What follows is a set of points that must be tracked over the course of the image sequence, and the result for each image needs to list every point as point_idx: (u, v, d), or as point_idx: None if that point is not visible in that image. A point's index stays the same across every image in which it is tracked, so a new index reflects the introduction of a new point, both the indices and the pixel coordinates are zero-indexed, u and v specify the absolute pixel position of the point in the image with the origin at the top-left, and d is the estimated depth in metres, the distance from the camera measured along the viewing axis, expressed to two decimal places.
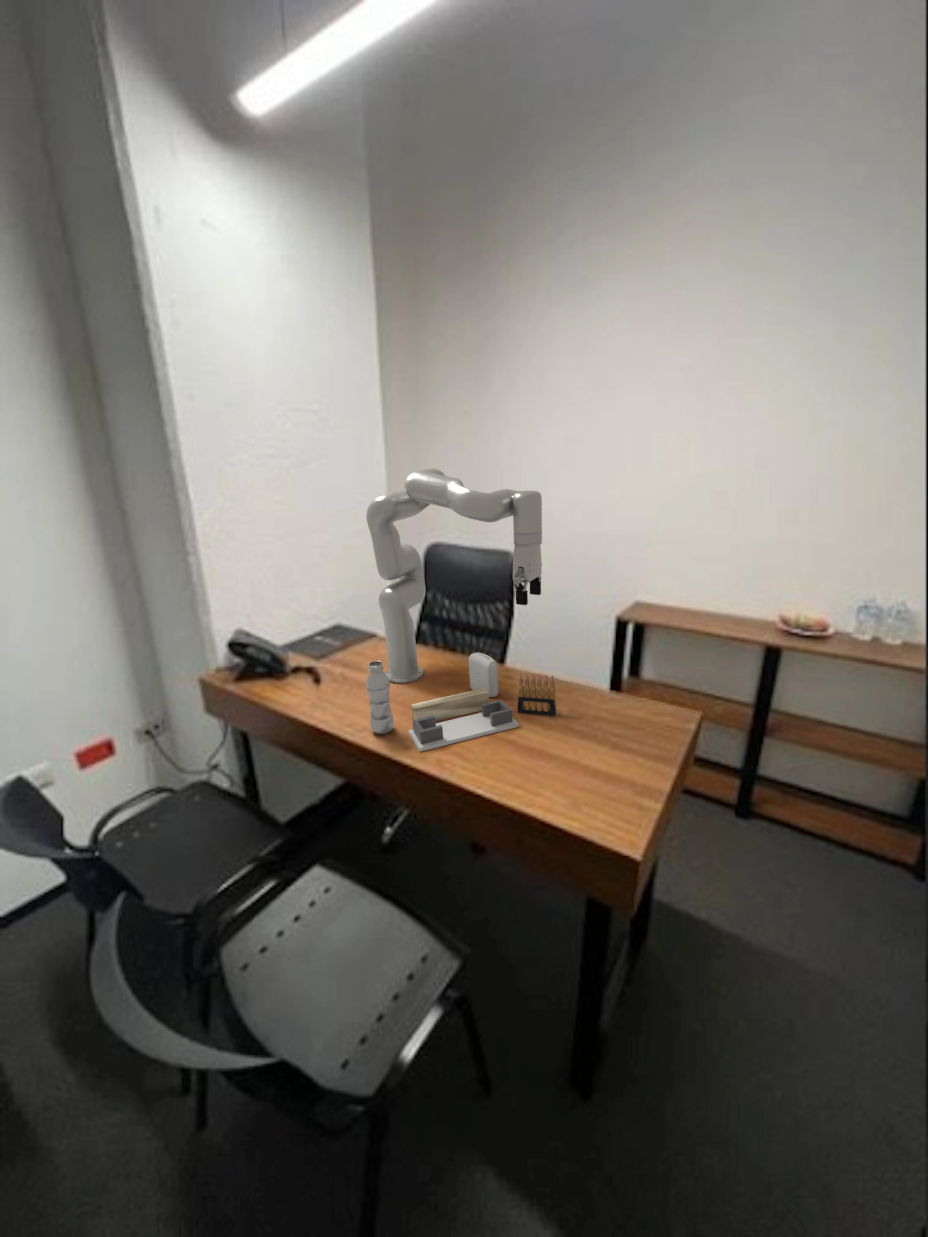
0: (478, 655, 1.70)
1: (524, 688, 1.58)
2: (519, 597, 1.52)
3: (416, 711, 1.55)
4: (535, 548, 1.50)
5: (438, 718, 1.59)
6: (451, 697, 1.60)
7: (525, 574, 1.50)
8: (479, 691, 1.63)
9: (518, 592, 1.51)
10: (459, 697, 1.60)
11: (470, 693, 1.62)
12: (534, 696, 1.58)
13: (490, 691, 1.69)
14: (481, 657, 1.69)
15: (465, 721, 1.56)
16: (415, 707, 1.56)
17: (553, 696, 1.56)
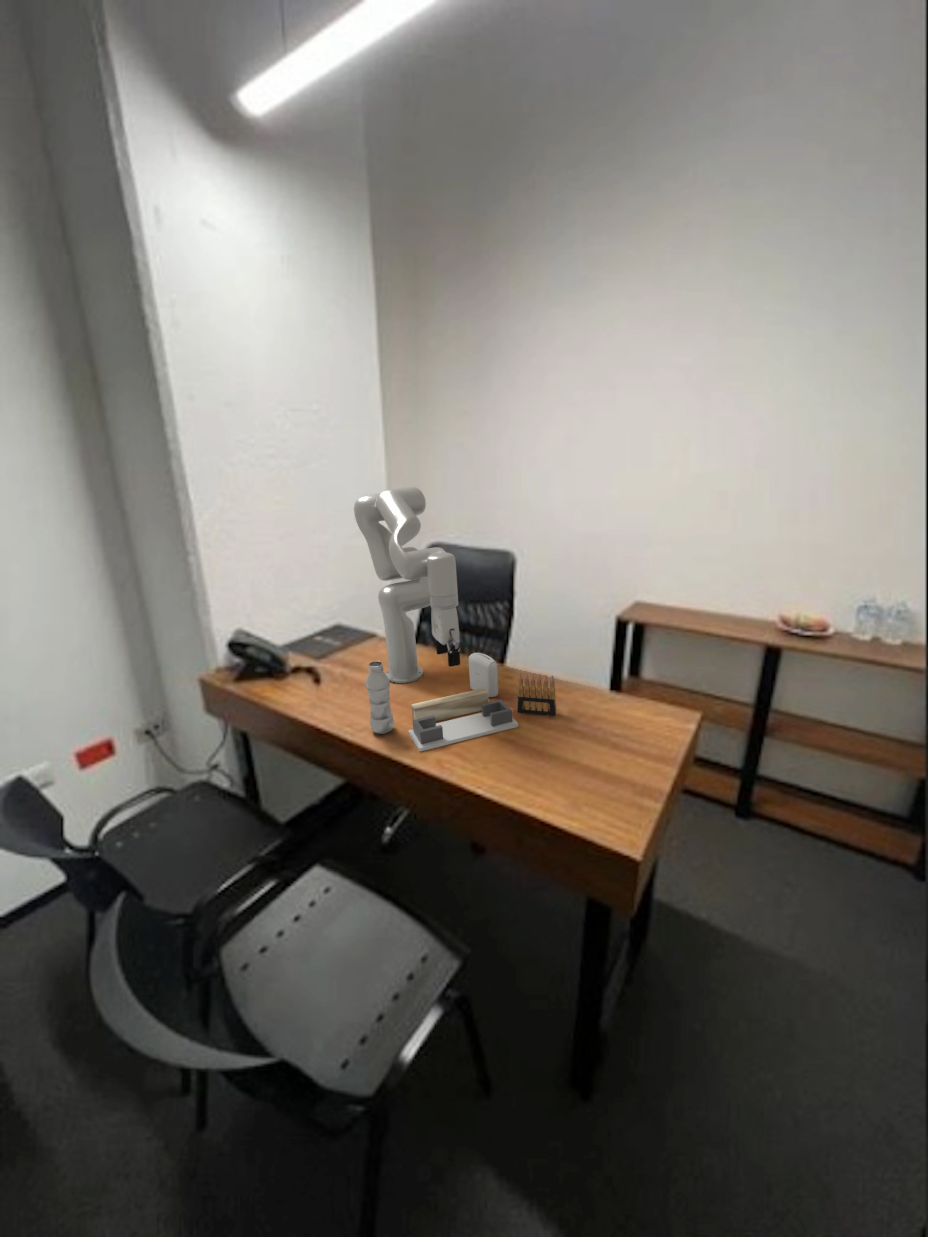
0: (478, 655, 1.70)
1: (524, 688, 1.58)
2: (454, 659, 1.50)
3: (416, 711, 1.55)
4: None
5: (438, 718, 1.59)
6: (451, 697, 1.60)
7: (457, 635, 1.49)
8: (479, 691, 1.63)
9: (453, 654, 1.49)
10: (459, 697, 1.60)
11: (470, 693, 1.62)
12: (534, 696, 1.58)
13: (490, 691, 1.69)
14: (481, 657, 1.69)
15: (465, 721, 1.56)
16: (415, 707, 1.56)
17: (553, 696, 1.56)
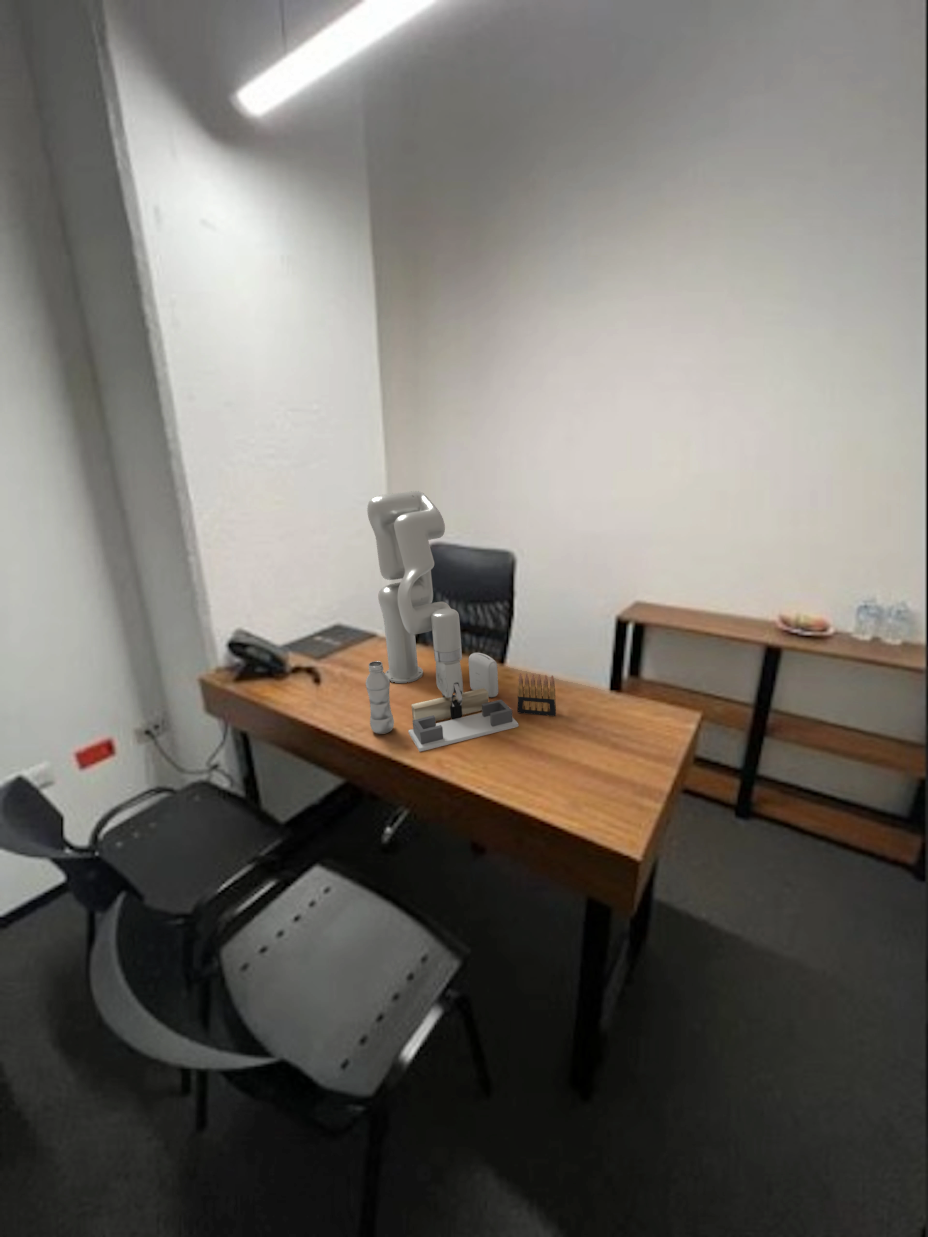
0: (478, 655, 1.70)
1: (524, 688, 1.58)
2: (456, 712, 1.56)
3: (416, 711, 1.55)
4: None
5: (438, 718, 1.59)
6: None
7: (460, 688, 1.53)
8: (479, 691, 1.63)
9: (455, 708, 1.55)
10: None
11: (470, 693, 1.62)
12: (534, 696, 1.58)
13: (490, 691, 1.69)
14: (481, 657, 1.69)
15: (465, 721, 1.56)
16: (415, 707, 1.56)
17: (553, 696, 1.56)
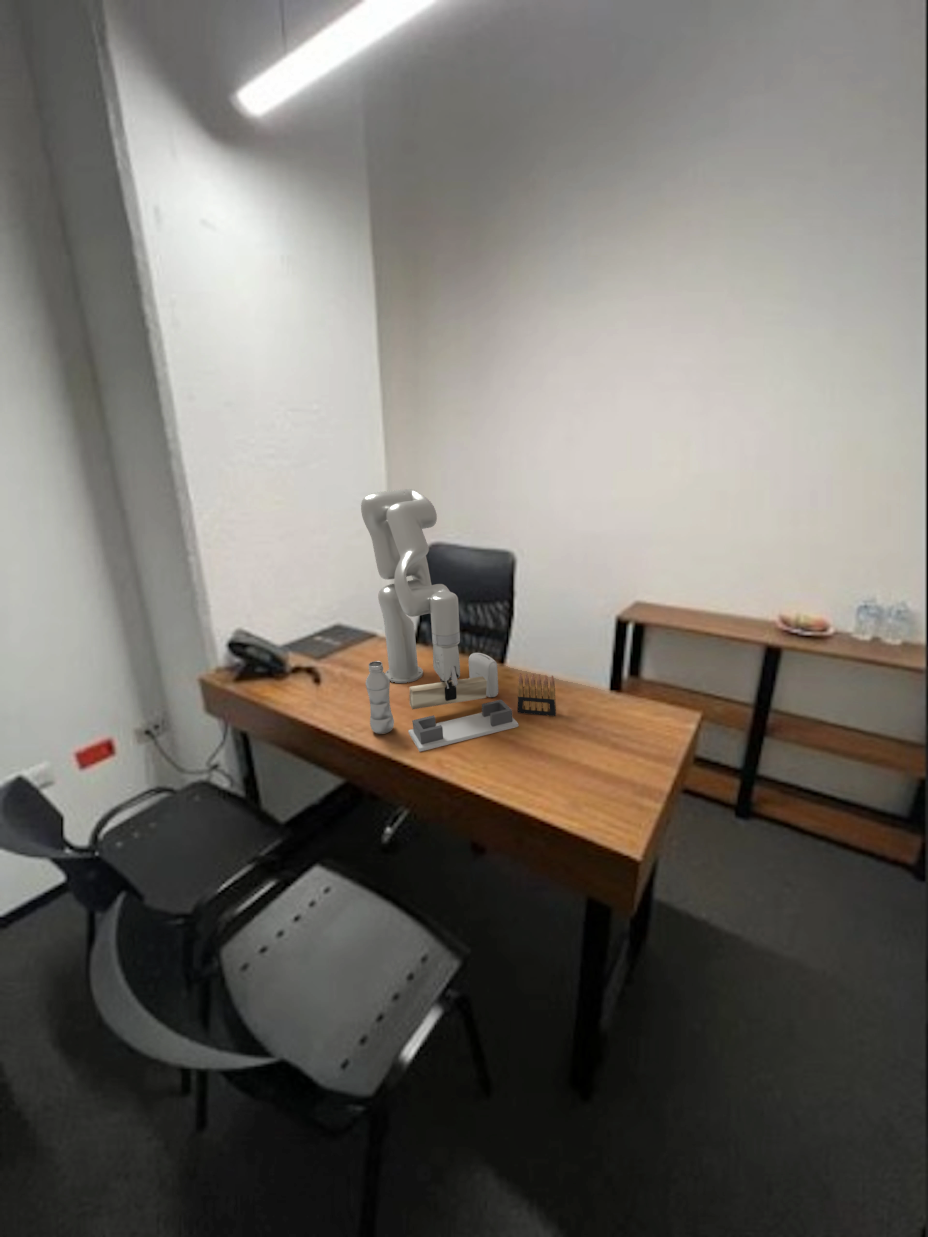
0: (478, 655, 1.70)
1: (524, 688, 1.58)
2: (451, 694, 1.57)
3: (414, 694, 1.54)
4: None
5: (435, 702, 1.58)
6: None
7: (458, 672, 1.53)
8: (478, 679, 1.62)
9: (450, 690, 1.57)
10: (458, 683, 1.60)
11: (468, 680, 1.62)
12: (534, 696, 1.58)
13: (490, 691, 1.69)
14: (481, 657, 1.69)
15: (465, 721, 1.56)
16: (413, 690, 1.55)
17: (553, 696, 1.56)
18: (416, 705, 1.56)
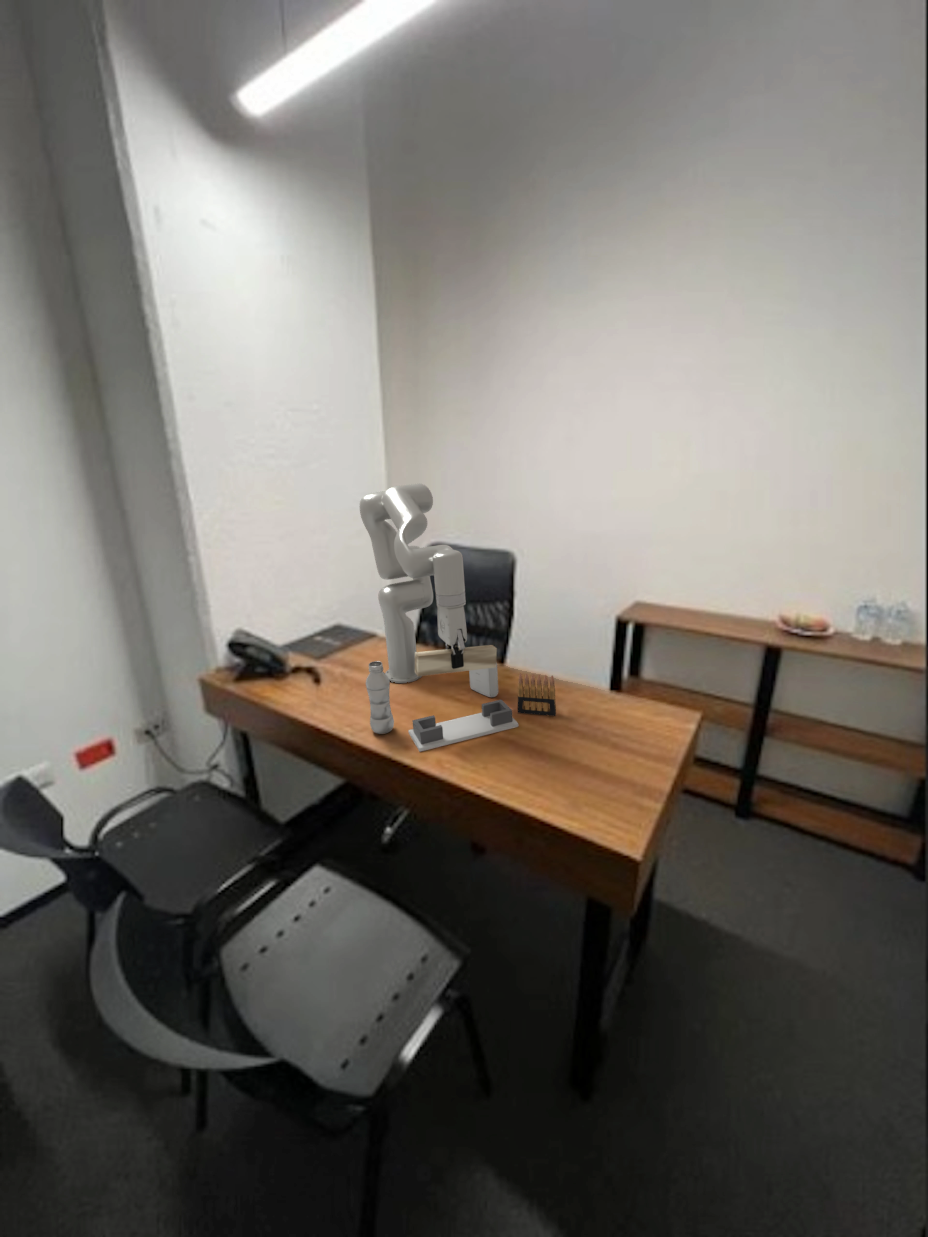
0: None
1: (524, 688, 1.58)
2: (457, 661, 1.47)
3: (419, 659, 1.45)
4: None
5: (442, 670, 1.48)
6: None
7: (464, 635, 1.43)
8: (487, 647, 1.53)
9: (456, 656, 1.47)
10: (466, 650, 1.50)
11: (477, 647, 1.52)
12: (534, 696, 1.58)
13: (490, 691, 1.69)
14: None
15: (465, 721, 1.56)
16: (419, 655, 1.45)
17: (553, 696, 1.56)
18: (422, 672, 1.46)
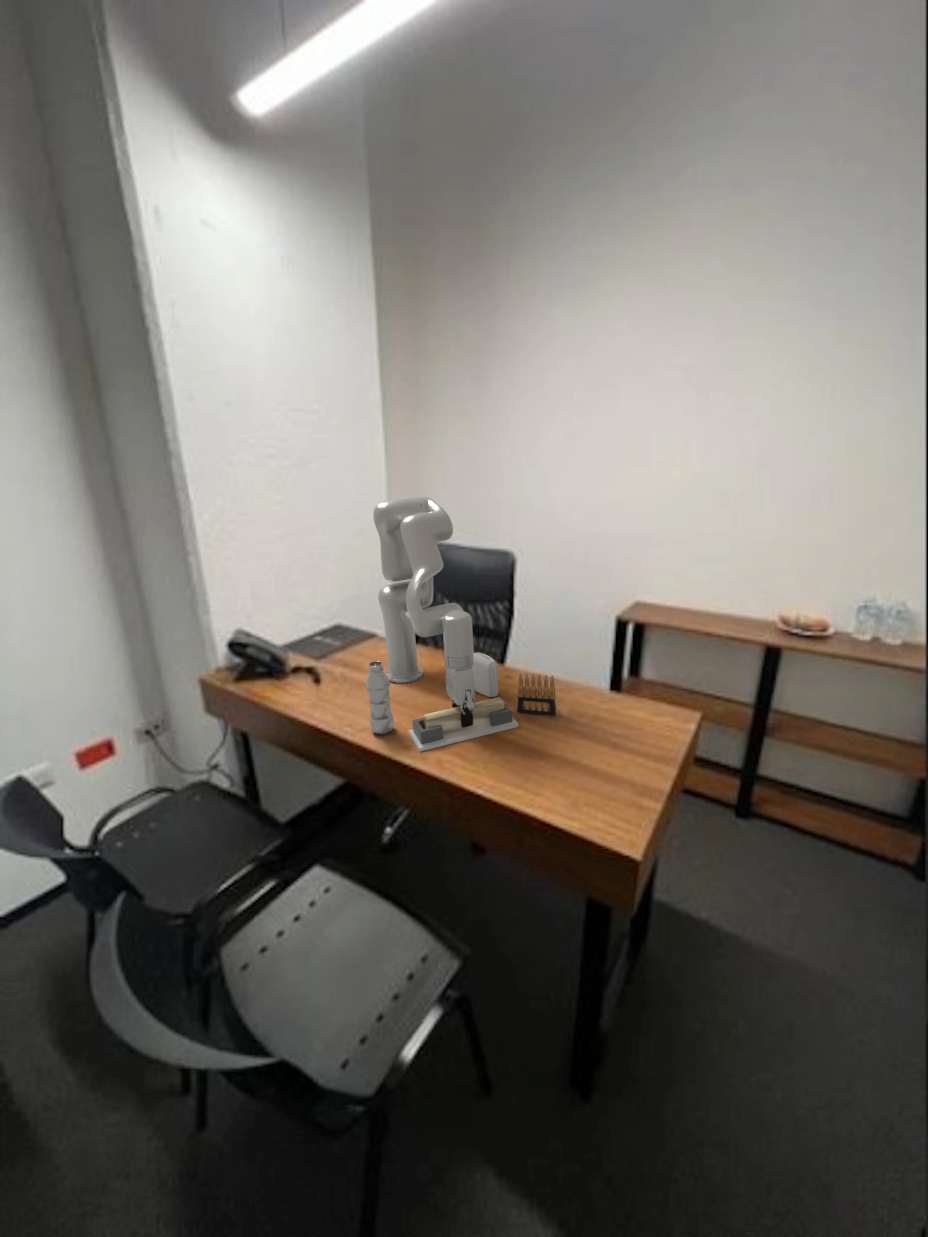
0: (478, 655, 1.70)
1: (524, 688, 1.58)
2: (467, 720, 1.48)
3: (428, 722, 1.47)
4: None
5: (452, 729, 1.50)
6: (465, 707, 1.52)
7: (472, 695, 1.45)
8: (494, 700, 1.54)
9: (466, 716, 1.47)
10: (474, 707, 1.52)
11: (485, 702, 1.53)
12: (534, 696, 1.58)
13: (490, 691, 1.69)
14: (481, 657, 1.69)
15: None
16: (428, 718, 1.47)
17: (553, 696, 1.56)
18: None
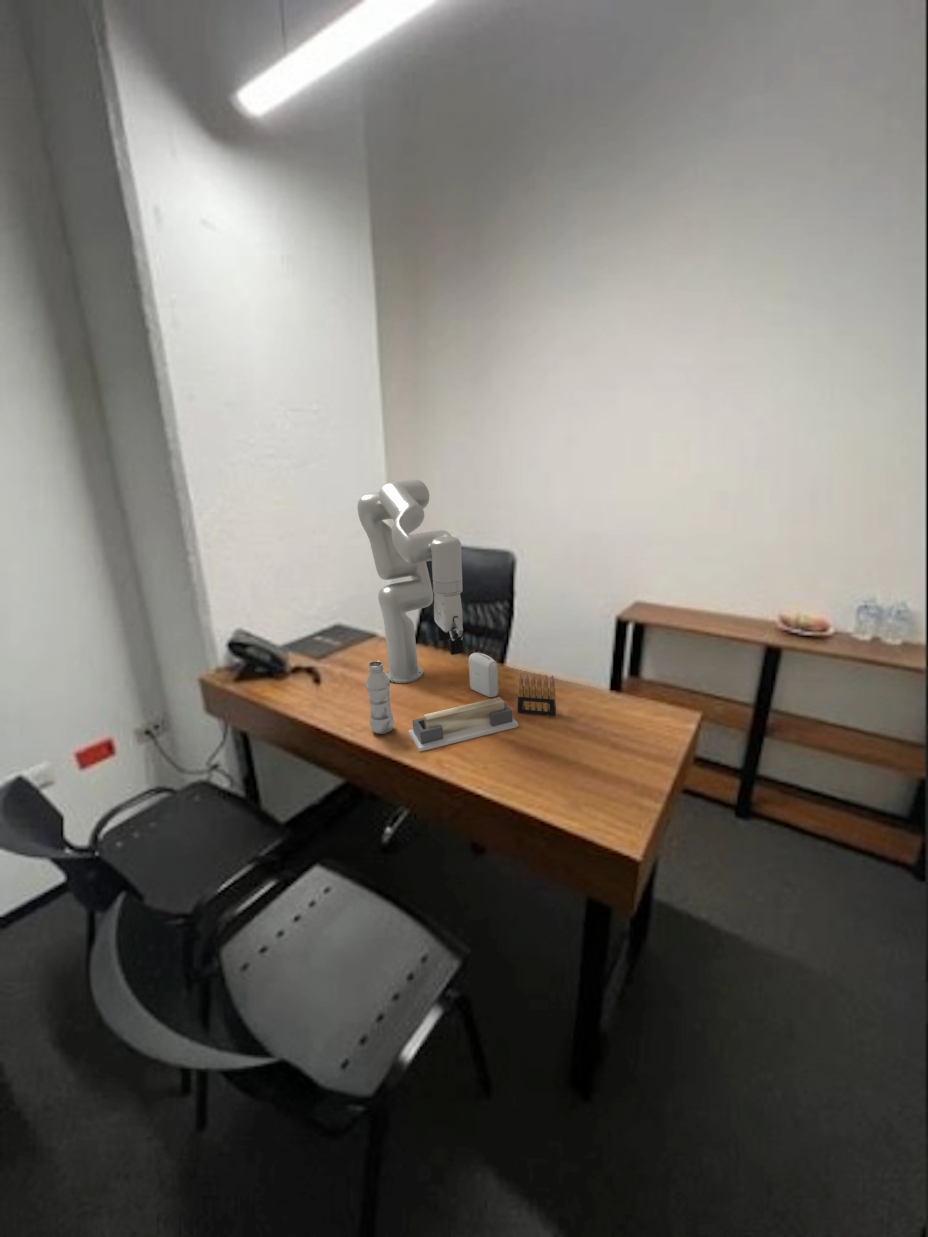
0: (478, 655, 1.70)
1: (524, 688, 1.58)
2: (456, 647, 1.45)
3: (428, 722, 1.47)
4: None
5: (452, 729, 1.50)
6: (465, 707, 1.52)
7: (460, 622, 1.44)
8: (494, 700, 1.54)
9: (455, 642, 1.45)
10: (474, 707, 1.52)
11: (485, 702, 1.53)
12: (534, 696, 1.58)
13: (490, 691, 1.69)
14: (481, 657, 1.69)
15: None
16: (428, 718, 1.47)
17: (553, 696, 1.56)
18: None
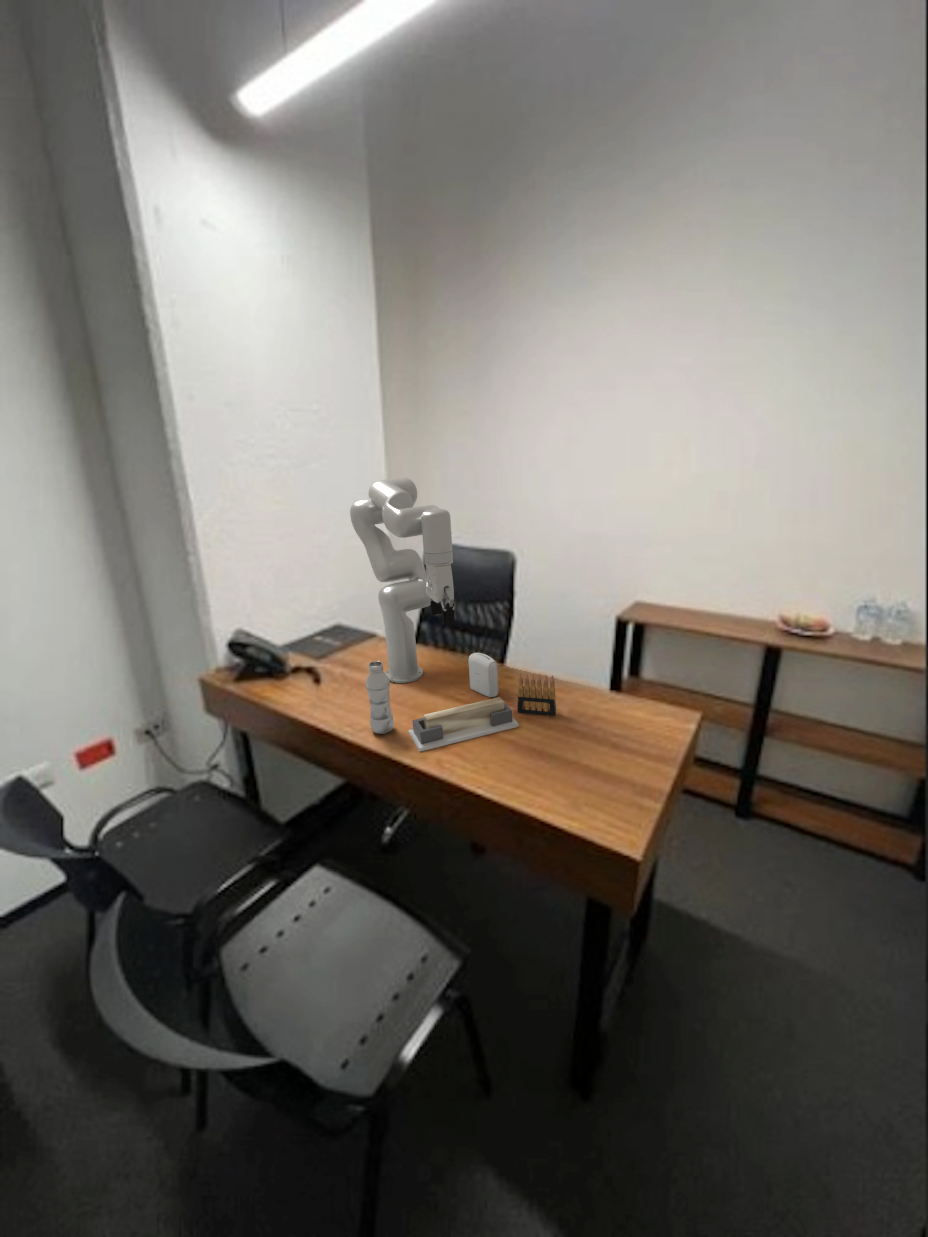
0: (478, 655, 1.70)
1: (524, 688, 1.58)
2: (448, 617, 1.48)
3: (428, 722, 1.47)
4: None
5: (452, 729, 1.50)
6: (465, 707, 1.52)
7: (451, 592, 1.47)
8: (494, 700, 1.54)
9: (447, 612, 1.48)
10: (474, 707, 1.52)
11: (485, 702, 1.53)
12: (534, 696, 1.58)
13: (490, 691, 1.69)
14: (481, 657, 1.69)
15: None
16: (428, 718, 1.47)
17: (553, 696, 1.56)
18: None
